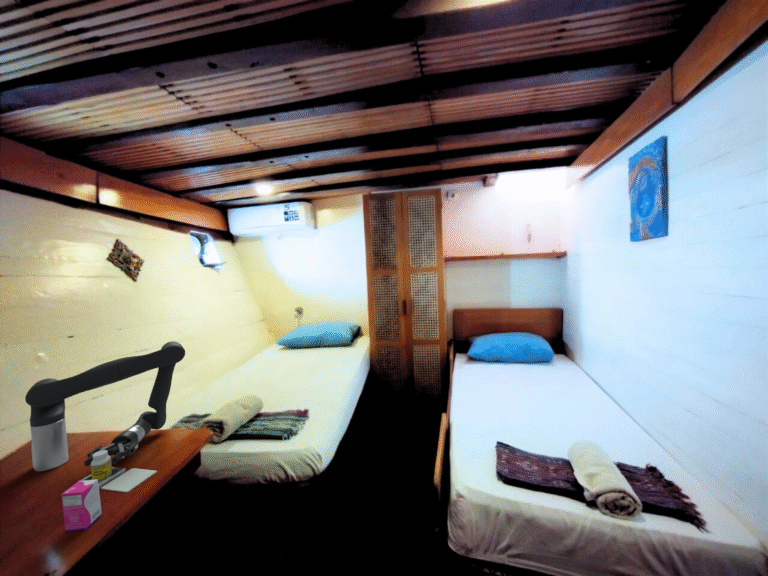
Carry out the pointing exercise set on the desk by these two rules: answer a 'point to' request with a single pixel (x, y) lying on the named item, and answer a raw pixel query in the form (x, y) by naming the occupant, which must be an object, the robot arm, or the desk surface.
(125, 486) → the pad
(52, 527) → the desk surface
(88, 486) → the supplement box
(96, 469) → the supplement bottle
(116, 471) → the square frame
